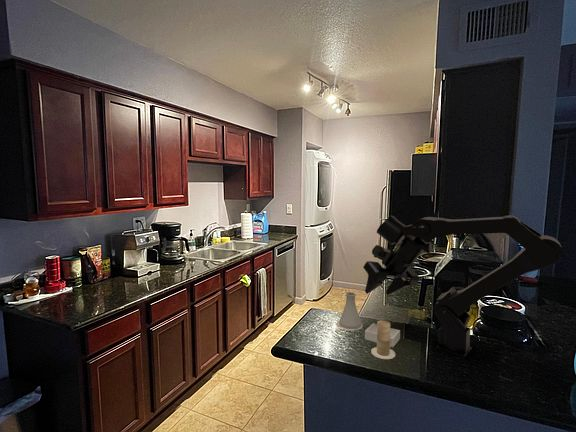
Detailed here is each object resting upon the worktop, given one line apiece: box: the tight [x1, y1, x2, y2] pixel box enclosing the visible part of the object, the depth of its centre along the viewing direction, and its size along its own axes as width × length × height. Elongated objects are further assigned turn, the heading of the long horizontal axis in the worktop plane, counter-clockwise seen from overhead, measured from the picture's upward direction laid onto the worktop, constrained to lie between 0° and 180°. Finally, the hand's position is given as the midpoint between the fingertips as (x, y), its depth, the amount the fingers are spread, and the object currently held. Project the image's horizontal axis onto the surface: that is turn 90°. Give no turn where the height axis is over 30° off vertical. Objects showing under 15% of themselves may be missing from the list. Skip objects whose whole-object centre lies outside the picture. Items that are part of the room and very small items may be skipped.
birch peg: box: [376, 319, 391, 356], centre depth 80 cm, size 3×3×8 cm
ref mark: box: [370, 346, 396, 360], centre depth 80 cm, size 6×6×1 cm
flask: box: [338, 291, 363, 329], centre depth 96 cm, size 7×7×10 cm
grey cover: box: [364, 322, 401, 348], centre depth 87 cm, size 8×6×3 cm
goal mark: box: [336, 319, 363, 331], centre depth 97 cm, size 8×8×1 cm
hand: (376, 293), depth 94 cm, fingers open, 9 cm apart
